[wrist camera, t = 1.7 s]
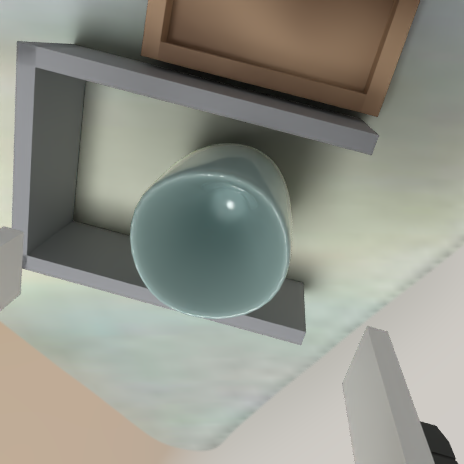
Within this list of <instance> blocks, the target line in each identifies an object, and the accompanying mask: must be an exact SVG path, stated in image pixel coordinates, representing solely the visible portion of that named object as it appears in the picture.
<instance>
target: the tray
mask: <svg viewBox="0 0 464 464" xmlns="http://www.w3.org/2000/svg"><path fill="white" fill-rule="evenodd" d="M419 2H420V0H148V6H147V13H146V20H145V28H144V35H143V42H142V49H141V56H144V57H148V58H152V59H156V60H160V61H164V62H167V63H171V64H175V65H179V66H183V67H187V68H191V69H194V70H198V71H202V72H206V73H210V74H214V75H218V76H221V77H225V78H229V79H233V80H237V81H241V82H245V83H249V84H252V85H256V86H260V87H264V88H268V89H272V90H276V91H279V92H283V93H287V94H291V95H295V96H299V97H303V98H306V99H310V100H314V101H318V102H322V103H326V104H330V105H333V106H337V107H341V108H345V109H349V110H353V111H357V112H360V113H364V114H368V115H372V116H376V117H378V115H379V112H380V109H381V107H382V104H383V101H384V98H385V96H386V93H387V90H388V87H389V85H390V82H391V79H392V76H393V74H394V71H395V68H396V65H397V63H398V60H399V57H400V54H401V52H402V49H403V46H404V43H405V41H406V38H407V35H408V32H409V30H410V27H411V24H412V21H413V19H414V16H415V13H416V11H417V8H418V5H419Z"/></svg>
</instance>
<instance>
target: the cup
mask: <svg viewBox="0 0 464 464" xmlns="http://www.w3.org/2000/svg"><path fill="white" fill-rule="evenodd" d="M130 243H131V253H132V256H133V260H134V263H135V267H136V269H137V271H138V273H139V275H140V277H141V279H142V281H143V282H144V284H145V285H146V286H147V288H148V289H149V291H150V292H151V293H152V294H153V295H154V296H155V297H156V298H157V299H158V300H159V301H160V302H162V303H163V304H165V305H167V306H168V307H170V308H172V309H173V310H176V311H178V312H181V313H183V314H186V315H190V316H195V317H199V318H209V319H222V318H233V317H237V316H241V315H245V314H248V313H250V312H253V311H255V310H257V309H259V308H261V307H262V306H264V305H265V304H266V303H268V302H269V301H271V299H272V298H273V297H274V296H275V295H276V293H277V292H278V291H279V290H280V288H281V286H282V284H283V282H284V280H285V278H286V276H287V272H288V268H289V264H290V260H291V251H292V211H291V203H290V196H289V192H288V188H287V185H286V182H285V179H284V177H283V175H282V173H281V172H280V170H279V168H278V166H277V165H276V164H275V163H274V162H273V161H272V159H271V158H270V157H269V156H267V155H266V154H264V153H263V152H261V151H260V150H258V149H255V148H253V147H250V146H247V145H242V144H237V143H221V144H215V145H210V146H207V147H204V148H201V149H198V150H195V151H194V152H192V153H190V154H188V155H187V156H185V157H183V158H182V159H180V160H179V161H177V162H176V163H175V164H174V165H172V166H171V167H170V168H169V169H168V170H167V171H166V172H165V173H163V174H162V175H161V176H160V177H159V178H158V179H157V180H156V181H155V182H154V183H153V184H152V185H151V186H150V187H149V188H148V189H147V190H146V191H145V193H144V194H143V196H142V197H141V199H140V201H139V202H138V204H137V206H136V208H135V211H134V215H133V218H132V221H131V230H130Z"/></svg>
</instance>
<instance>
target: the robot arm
mask: <svg viewBox="0 0 464 464" xmlns="http://www.w3.org/2000/svg"><path fill="white" fill-rule="evenodd" d="M23 235H24V232H23V231H19V230H15V229H12V228H8V227H2V228H1V229H0V311H1V310H2V309H4V308H5V307H6V306H7V305H8V304H9V303H11V302H12V301H13V300H14V299H15V298H16V297H18V296H19V295H20V294H21V276H22V255H23ZM342 385H343V392H344V398H345V405H346V411H347V417H348V423H349V430H350V436H351V442H352V449H353V455H354V461H355V464H458V463H457V461H455V455H454V453H453V451H452V448H451V446H450V444H449V441H448V440H447V439H446V438H445V436H444V435H443V434H442V433H441V431H440V430H439V429H438V427H437V426H435V425H431V424H428V423H424V422H420V421H419V418H418V415H417V412H416V410H415V407H414V404H413V401H412V398H411V396H410V393H409V390H408V387H407V384H406V382H405V379H404V376H403V373H402V370H401V368H400V365H399V362H398V359H397V357H396V354H395V351H394V348H393V345H392V342H391V340H390V337H389V334H388V332H387V331H384V330H380V329H376V328H373V327H369V326H367V327H366V330H365V332H364V334H363V336H362V339H361V341H360V343H359V346H358V348H357V350H356V353H355V355H354V357H353V360H352V362H351V364H350V367H349V369H348V371H347V373H346V376H345V378H344V380H343V383H342Z"/></svg>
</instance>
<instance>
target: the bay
mask: <svg viewBox="0 0 464 464" xmlns="http://www.w3.org/2000/svg"><path fill="white" fill-rule="evenodd" d="M85 81H90V82H94V83H98V84H102V85H105V86H109V87H113V88H117V89H121V90H125V91H128V92H132V93H136V94H140V95H144V96H147V97H151V98H155V99H159V100H163V101H167V102H170V103H174V104H178V105H182V106H186V107H190V108H193V109H197V110H201V111H205V112H209V113H212V114H216V115H220V116H224V117H228V118H232V119H235V120H239V121H243V122H247V123H251V124H254V125H258V126H262V127H266V128H270V129H274V130H277V131H281V132H285V133H289V134H293V135H297V136H300V137H304V138H308V139H312V140H316V141H319V142H323V143H327V144H331V145H335V146H339V147H342V148H346V149H350V150H354V151H358V152H361V153H365V154H369V155H372V153H373V150H374V148H375V145H376V142H377V140H378V137H379V135H378V134H377V133H376V132H375V131H374V130H373V129H371V128H370V127H369V126H368V125H367V124H366V123H365V122H364V121H363V120H362V119H360V118H356V117H352V116H348V115H345V114H341V113H337V112H333V111H329V110H325V109H321V108H318V107H314V106H310V105H306V104H302V103H298V102H294V101H291V100H287V99H283V98H279V97H275V96H271V95H267V94H264V93H260V92H256V91H252V90H248V89H244V88H240V87H237V86H233V85H229V84H225V83H221V82H217V81H214V80H210V79H206V78H202V77H198V76H194V75H190V74H187V73H183V72H179V71H175V70H171V69H167V68H163V67H160V66H156V65H152V64H148V63H144V62H140V61H136V60H133V59H129V58H125V57H121V56H117V55H113V54H109V53H106V52H102V51H98V50H94V49H90V48H86V47H82V46H79V45H75V44H62V43H42V42H23V41H17V60H16V96H15V132H14V168H13V204H12V229H15V230H19V231H23V232H24V235H23V255H22V268H23V269H26V270H30V271H33V272H37V273H41V274H44V275H48V276H52V277H55V278H59V279H63V280H66V281H70V282H73V283H77V284H81V285H84V286H88V287H92V288H95V289H99V290H102V291H106V292H110V293H113V294H117V295H121V296H124V297H128V298H131V299H135V300H139V301H142V302H146V303H150V304H153V305H157V306H161V307H164V308H168V309H171V310H173V309H172V308H170V307H168V306H167V305H165V304H163V303H162V302H160V301H159V300H158V299H157V298H156V297H155V296H154V295H153V294H152V293H151V292H150V291H149V289H148V288H147V286H146V285H145V284H144V282H143V281H142V279H141V277H140V275H139V273H138V271H137V269H136V267H135V263H134V260H133V256H132V253H131V243H130V236H128V235H124V234H120V233H117V232H113V231H109V230H105V229H102V228H98V227H94V226H91V225H87V224H83V223H80V222H76V221H73V214H74V203H75V192H76V181H77V170H78V158H79V147H80V136H81V125H82V114H83V103H84V92H85ZM175 311H176V310H175ZM204 319H208V320H211V321H215V322H219V323H222V324H226V325H230V326H233V327H237V328H240V329H244V330H248V331H251V332H255V333H259V334H262V335H266V336H269V337H273V338H277V339H280V340H284V341H288V342H291V343H295V344H299V345H301V344H302V341H303V339H304V336H305V333H306V324H305V304H304V284H303V283H301V282H297V281H293V280H290V279H286V278H285V280H284V282H283V284H282V286H281V288H280V290H279V291H278V292H277V293H276V295H275V296H274V297H273V298H272V299H271V301H269V302H268V303H266V304H265V305H264V306H262V307H261V308H259V309H257V310H255V311H253V312H250V313H248V314H245V315H241V316H237V317H233V318H222V319H209V318H204Z"/></svg>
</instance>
